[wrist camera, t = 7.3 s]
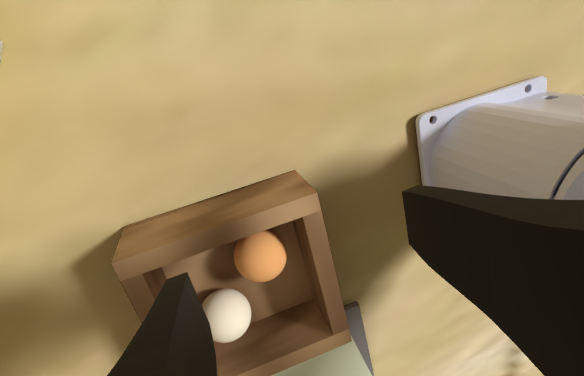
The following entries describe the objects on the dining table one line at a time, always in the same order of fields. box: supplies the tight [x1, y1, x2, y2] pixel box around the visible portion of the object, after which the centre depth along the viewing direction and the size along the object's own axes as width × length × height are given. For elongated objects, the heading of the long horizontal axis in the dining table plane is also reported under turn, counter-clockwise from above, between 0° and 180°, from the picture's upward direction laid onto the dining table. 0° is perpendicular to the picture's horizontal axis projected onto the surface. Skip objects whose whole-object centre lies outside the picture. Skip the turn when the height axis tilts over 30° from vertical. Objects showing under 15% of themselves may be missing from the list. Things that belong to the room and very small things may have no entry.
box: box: [111, 170, 352, 376], centre depth 21 cm, size 10×10×4 cm
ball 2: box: [234, 229, 287, 282], centre depth 21 cm, size 3×3×3 cm
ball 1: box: [202, 288, 251, 343], centre depth 22 cm, size 3×3×3 cm
